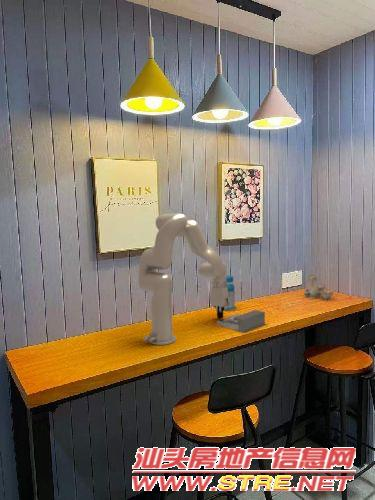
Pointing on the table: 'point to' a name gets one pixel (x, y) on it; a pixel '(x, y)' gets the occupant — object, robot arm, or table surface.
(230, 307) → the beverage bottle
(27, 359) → the table surface
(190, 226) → the robot arm
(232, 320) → the stone block
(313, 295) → the chinaware
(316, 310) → the table surface
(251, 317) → the steel lip bracket
